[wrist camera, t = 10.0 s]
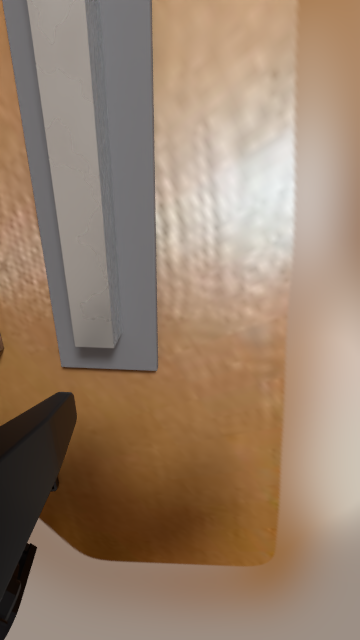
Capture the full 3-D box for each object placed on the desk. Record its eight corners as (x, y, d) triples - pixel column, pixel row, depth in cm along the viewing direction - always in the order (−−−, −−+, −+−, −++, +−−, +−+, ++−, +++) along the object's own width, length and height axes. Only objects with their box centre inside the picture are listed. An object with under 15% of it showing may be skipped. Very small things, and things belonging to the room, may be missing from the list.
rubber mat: (158, 366, 22) (156, 370, 22) (65, 362, 23) (61, 366, 22) (146, -274, 11) (144, -297, 11) (-33, -262, 12) (-44, -285, 11)
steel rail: (122, 331, 21) (113, 348, 19) (88, 330, 21) (75, 346, 19) (88, -166, 12) (64, -245, 10) (30, -164, 12) (-7, -242, 10)
